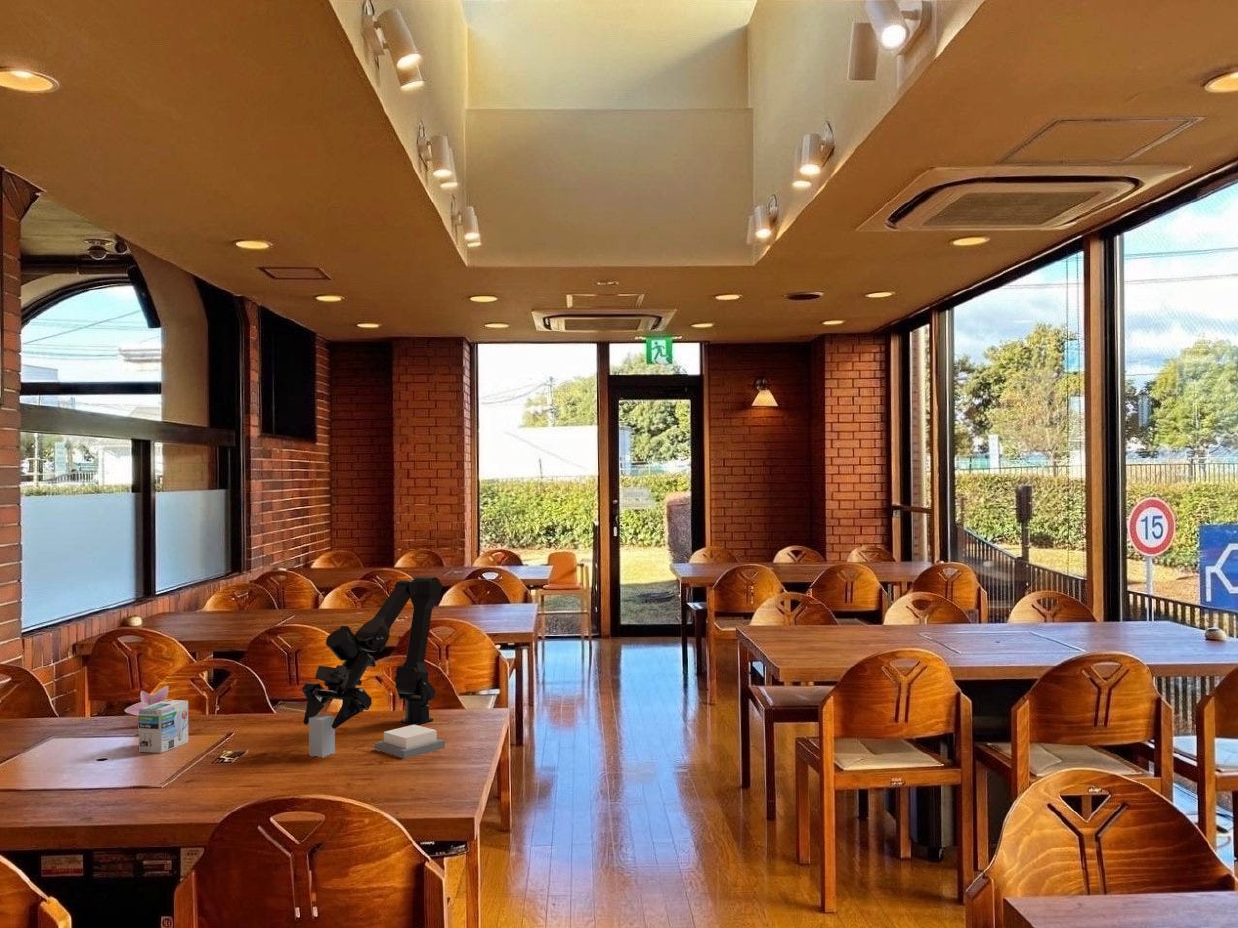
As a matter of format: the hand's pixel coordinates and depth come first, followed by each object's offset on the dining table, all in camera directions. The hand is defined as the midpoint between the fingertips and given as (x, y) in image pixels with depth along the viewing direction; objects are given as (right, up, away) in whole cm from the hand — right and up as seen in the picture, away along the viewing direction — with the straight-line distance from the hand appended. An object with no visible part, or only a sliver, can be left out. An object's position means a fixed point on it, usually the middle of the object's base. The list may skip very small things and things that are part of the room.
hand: (318, 725), depth 229 cm
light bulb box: (-42, -8, +10) cm, 44 cm away
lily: (-56, -9, +33) cm, 65 cm away
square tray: (+21, -8, +4) cm, 23 cm away
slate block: (+1, -7, +1) cm, 7 cm away
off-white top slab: (+21, -5, +4) cm, 22 cm away
